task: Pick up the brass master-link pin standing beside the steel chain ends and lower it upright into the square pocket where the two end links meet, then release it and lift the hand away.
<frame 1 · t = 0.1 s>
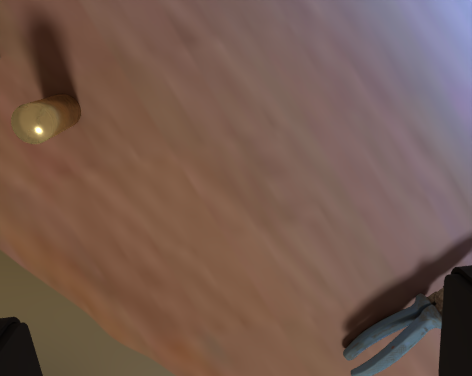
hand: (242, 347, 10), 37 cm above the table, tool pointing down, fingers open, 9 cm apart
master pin: (63, 110, 44), on the table
pliers: (405, 304, 53), on the table
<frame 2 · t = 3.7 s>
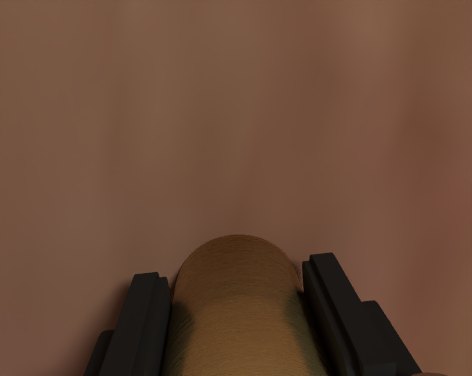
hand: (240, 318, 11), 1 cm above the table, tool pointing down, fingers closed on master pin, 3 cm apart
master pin: (237, 291, 12), on the table, touching gripper
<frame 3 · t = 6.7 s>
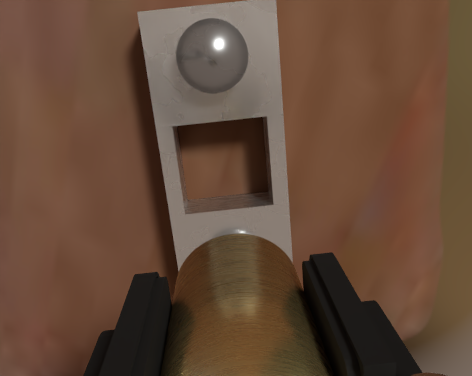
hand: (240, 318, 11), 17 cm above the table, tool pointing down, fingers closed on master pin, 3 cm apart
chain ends: (223, 156, 26), on the table
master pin: (237, 290, 12), point 16 cm above the table, touching gripper
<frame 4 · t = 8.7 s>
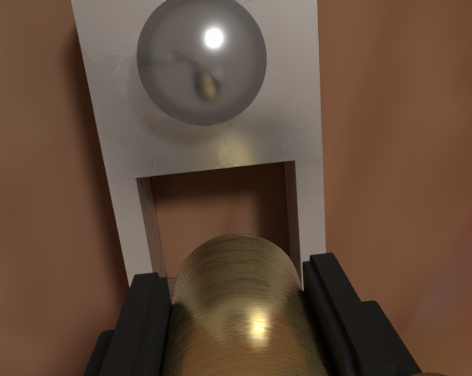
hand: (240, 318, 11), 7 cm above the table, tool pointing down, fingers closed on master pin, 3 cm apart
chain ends: (222, 214, 17), on the table
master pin: (237, 290, 12), point 6 cm above the table, touching gripper
when the fingers open (3 cm above the table, at t = 10.0 s): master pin drops 2 cm, resting in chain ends.
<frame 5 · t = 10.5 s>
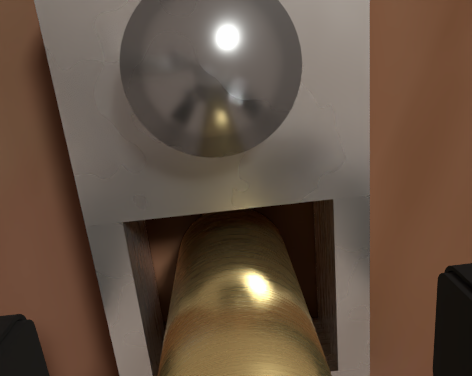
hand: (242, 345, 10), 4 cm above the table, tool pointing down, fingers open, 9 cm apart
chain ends: (234, 257, 14), on the table
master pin: (232, 256, 14), resting in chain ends
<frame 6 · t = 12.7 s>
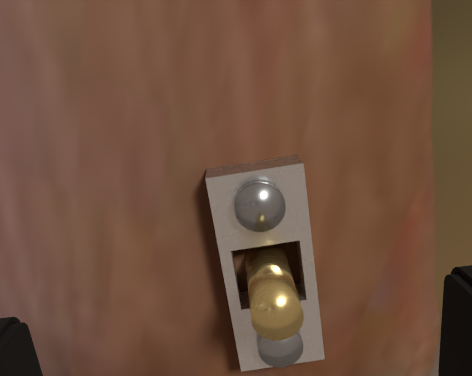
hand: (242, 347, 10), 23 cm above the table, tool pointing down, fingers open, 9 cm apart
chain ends: (266, 260, 35), on the table
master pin: (265, 260, 35), resting in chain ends
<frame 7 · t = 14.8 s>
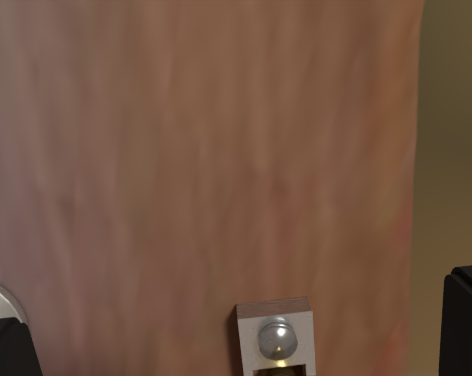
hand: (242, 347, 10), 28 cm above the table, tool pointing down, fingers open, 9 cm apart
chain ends: (277, 370, 45), on the table
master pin: (276, 369, 45), resting in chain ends
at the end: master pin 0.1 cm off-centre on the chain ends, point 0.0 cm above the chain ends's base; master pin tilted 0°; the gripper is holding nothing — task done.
